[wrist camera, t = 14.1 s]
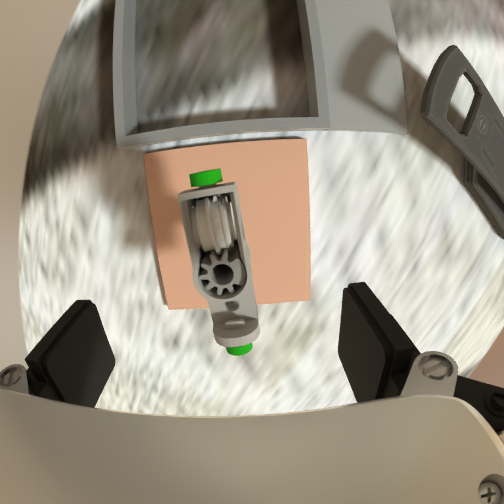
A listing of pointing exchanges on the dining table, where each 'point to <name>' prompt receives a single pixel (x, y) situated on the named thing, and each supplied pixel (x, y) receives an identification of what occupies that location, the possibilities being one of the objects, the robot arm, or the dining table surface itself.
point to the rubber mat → (253, 214)
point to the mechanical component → (221, 258)
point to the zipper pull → (470, 131)
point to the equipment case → (316, 67)
